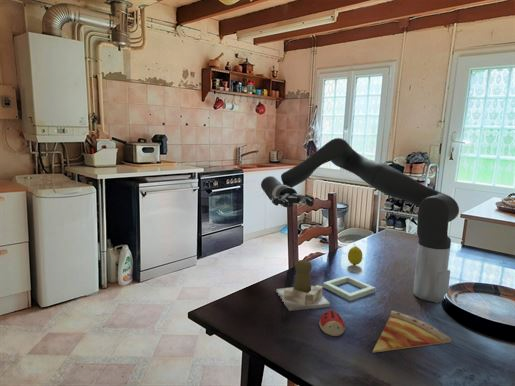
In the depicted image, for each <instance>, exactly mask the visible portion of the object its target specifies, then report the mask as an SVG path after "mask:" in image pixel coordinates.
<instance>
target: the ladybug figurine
mask: <svg viewBox="0 0 515 386" xmlns="http://www.w3.org/2000/svg"><path fill="white" fill-rule="evenodd" d="M318 324H319V327H320V329H321V331H322V332H323V333H325V334H327V335H328V336H333V337H339V336H341V335H342V334H343V333H344V332H345V329H346V325H345V322H344V319H343V318H342V316H341V315H340V314H339V313H338V312H337V311H335V310H333V309H332V310H331V309H329V310H326V311H325V312H324V313H323V314H322V315H321V317H320V319H319V322H318Z"/></svg>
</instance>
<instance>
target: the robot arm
mask: <svg viewBox="0 0 515 386" xmlns="http://www.w3.org/2000/svg"><path fill="white" fill-rule="evenodd" d="M329 162H331V163H332V164H333V165H334V166H336V167H339V168H341V169H343V170H345V171H348V172H349V173H351V174H353V175H355V176H357V177H358V178H360V179H361V180H362V181H364V183H367V184H368V185H369V186H371V187H372V188H374V189H376V190H378V191H379V192H380V193H383V194H384V195H387V196H389V197H392V198H396V199H397V200H398V199H399V200H402V201H405V202H408V203H411V204H413V205H414V206H416V207H418V211H417V223H416V233H417V238H418V241H417V242H418V243H417V251H416V260H415V261H416V262H415V270H414V280H413V291H412V293H413V295H414V296H415V297H417V298H419V299H421V300H423V301H428V302H433V303H435V304H438V303H440V302H443V301H444V300H443V299H444V295H445V294H446V293H448V294H449V287H450V278H451V270H450V269H449V262H450V261H449V260H450V254H451V246H452V239H451V237H450V236H449V235H448V232H449V230H448V229H449V222H452V221H453V220H455V219H456V218H457V217H458V216H459V212H460V207H459V204H458V203H457V201H456V200H455V199H454V198H453V197H452V196H450V195H448V194H446V193H443V192H441V191H439V190H436V189H433V188H431V187H429V186H426V185H424V184H423V183H420V182H419V181H417V180H415V179H413V178H412V177H410V176H409V175H407V174H405V173H403V172H401V171H400V170H398V169H396V168H395V167H392V166H390V165H389V164H387V163H384V162H383V161H382V162H381V161H379V160H373V159H368V158H367V157H365V156H363V155H362V154H360V153H359V152H357V151H356V150H354V149H353V148H352V147H351V145H350V144H349V143H348V142H347V141H346V140H345V139H344V138H343V137H336V138H333V139H331V140H329V141H328V142H327V143H325V144H324V145H323V146H321V147H320V148H319V149H318V150H316V151H314V153H312V154H311V155H310V156H309V157H307V158H306V159H304V160H303V161H302V162H300V163H299V164H297V165H295V166H293V167H292V168H290V169H288V170H286V171H285V172H283V173H281V175H280V179H281V182H280V181H279V180H278V179H277V178H276V177H275V176H270V175H269V176H266V177H264V178H263V179H262V181H261V183H260V187H261V189H262V191H263V192H264V193H265V195H266V196H267V197H268V199H269V200H270V201H271V203H272V204H273V205H275V206H279V205H280V206H281V207H284V208H291V207H294V206H295V205H298V206H304V205H306V206H308V207H311V208H312V207H313V206H314V204H315V200H314V199H315V197H314V196H312V195H309V194H307V193H306V194H298V192H297V191H296V189H294V187H296V186H298V185H300V184H301V183H303V182H304V181H306V180H307V179H309V178H310V176H312V175H313V173H314V172H315V171H316V170H317V169H318V168H319V167H321V166H322V165H324V164H326V163H329ZM442 300H443V301H442Z"/></svg>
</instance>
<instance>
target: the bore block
mask: <svg viewBox="0 0 515 386" xmlns="http://www.w3.org/2000/svg"><path fill="white" fill-rule="evenodd" d="M345 283H349V284H352V285H354V286H356V287H358V288H360V289H359V290H358V289H357V290H356V291H353V292H348V291H347V290H345V289H342V288H341V287H338V286H339V285H342V284H345ZM322 286H323V289H326V290H328V291H329V292H332V293H333V294H335V295H338V296H340V297H342V298H343V299H345V300H347V301H350V302H351V301H353V300H357V299H359V298H362V297H365V296H368V295H370V294H374V293H376V287H374V286H372V285H370V284H368V283H365V282H363V281H361V280H359V279H357V278H355V277H352V276H351V275H344V276H341V277H338V278H334V279H331V280H328V281H327V280H326V281H324V282H322Z"/></svg>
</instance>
